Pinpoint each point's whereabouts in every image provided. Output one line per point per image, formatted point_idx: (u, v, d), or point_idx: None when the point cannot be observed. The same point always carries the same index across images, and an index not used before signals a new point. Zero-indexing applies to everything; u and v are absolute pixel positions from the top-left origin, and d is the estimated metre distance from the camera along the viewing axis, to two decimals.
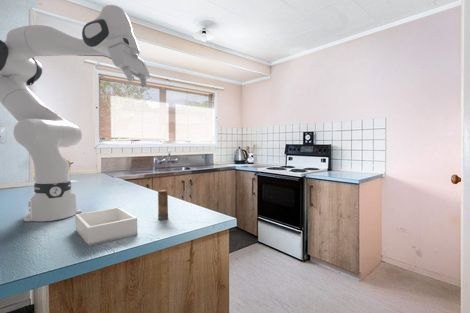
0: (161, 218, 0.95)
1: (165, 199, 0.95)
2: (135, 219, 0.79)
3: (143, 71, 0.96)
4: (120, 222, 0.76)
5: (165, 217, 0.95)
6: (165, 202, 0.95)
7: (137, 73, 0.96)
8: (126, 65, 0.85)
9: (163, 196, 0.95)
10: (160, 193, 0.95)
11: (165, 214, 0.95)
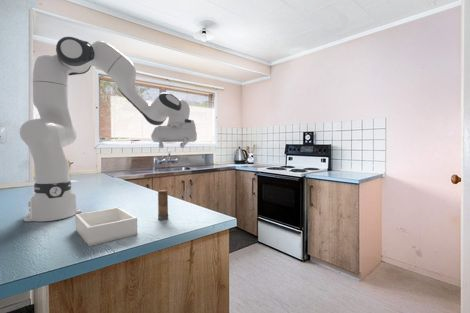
0: (161, 218, 0.95)
1: (165, 199, 0.95)
2: (135, 219, 0.79)
3: None
4: (120, 222, 0.76)
5: (165, 217, 0.95)
6: (165, 202, 0.95)
7: (166, 138, 1.11)
8: (189, 141, 1.11)
9: (163, 196, 0.95)
10: (160, 193, 0.95)
11: (165, 214, 0.95)
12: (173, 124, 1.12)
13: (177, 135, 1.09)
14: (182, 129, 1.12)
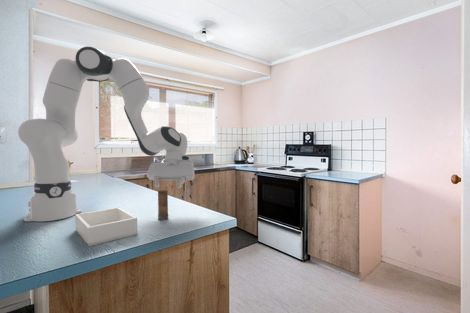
0: (161, 218, 0.95)
1: (165, 199, 0.95)
2: (135, 219, 0.79)
3: None
4: (120, 222, 0.76)
5: (165, 217, 0.95)
6: (165, 202, 0.95)
7: None
8: (187, 179, 1.06)
9: (163, 196, 0.95)
10: (160, 193, 0.95)
11: (165, 214, 0.95)
12: (170, 161, 1.08)
13: (174, 174, 1.04)
14: (179, 167, 1.07)
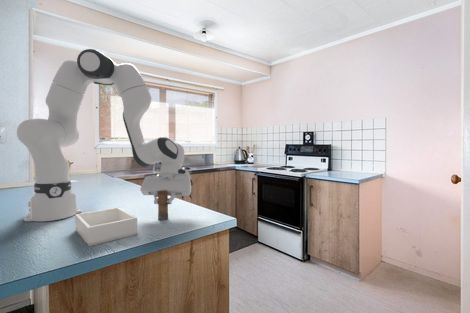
0: (161, 218, 0.95)
1: (165, 199, 0.95)
2: (135, 219, 0.79)
3: None
4: (120, 222, 0.76)
5: (165, 217, 0.95)
6: (165, 202, 0.95)
7: (157, 191, 0.99)
8: (183, 195, 1.00)
9: (163, 196, 0.95)
10: (160, 193, 0.95)
11: (165, 214, 0.95)
12: (165, 175, 1.01)
13: (169, 189, 0.98)
14: (175, 181, 1.01)
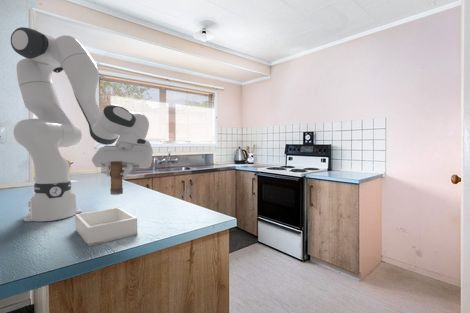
0: (113, 192, 0.82)
1: (118, 171, 0.83)
2: (135, 219, 0.79)
3: None
4: (120, 222, 0.76)
5: (118, 191, 0.83)
6: (118, 174, 0.83)
7: None
8: (141, 167, 0.87)
9: (116, 167, 0.82)
10: (112, 163, 0.82)
11: (118, 188, 0.83)
12: (122, 145, 0.89)
13: (125, 160, 0.86)
14: (133, 152, 0.88)
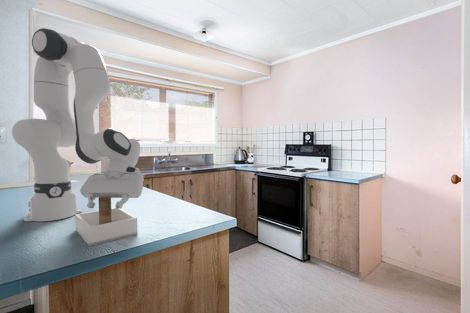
0: None
1: (107, 207, 0.80)
2: (135, 219, 0.79)
3: None
4: (120, 222, 0.76)
5: None
6: (107, 211, 0.80)
7: None
8: (131, 197, 0.84)
9: (104, 203, 0.80)
10: (100, 200, 0.79)
11: None
12: (111, 174, 0.86)
13: (114, 190, 0.83)
14: (122, 181, 0.86)
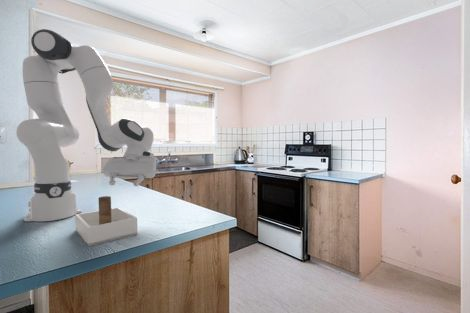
0: None
1: (107, 207, 0.80)
2: (135, 219, 0.79)
3: None
4: (120, 222, 0.76)
5: None
6: (107, 211, 0.80)
7: (120, 172, 0.97)
8: (146, 177, 0.97)
9: (104, 203, 0.80)
10: (100, 200, 0.79)
11: None
12: (129, 157, 0.99)
13: (132, 171, 0.96)
14: (139, 163, 0.99)
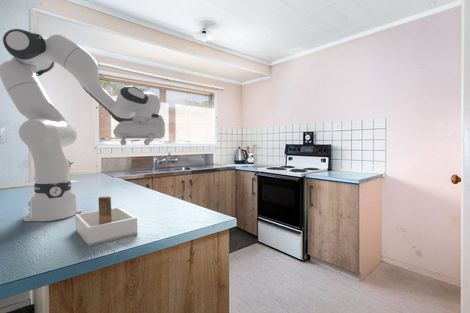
0: None
1: (107, 207, 0.80)
2: (135, 219, 0.79)
3: None
4: (120, 222, 0.76)
5: None
6: (107, 211, 0.80)
7: (130, 134, 1.00)
8: (156, 137, 1.00)
9: (104, 203, 0.80)
10: (100, 200, 0.79)
11: None
12: (138, 119, 1.02)
13: (142, 131, 0.99)
14: (148, 124, 1.01)
